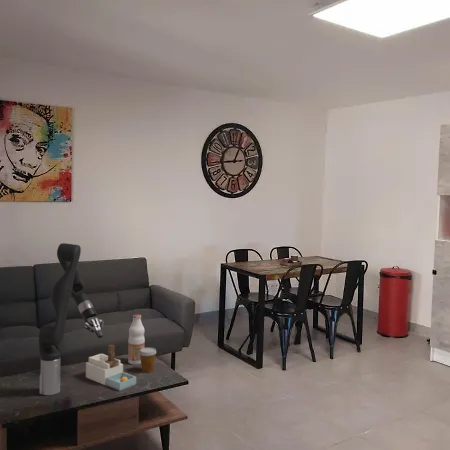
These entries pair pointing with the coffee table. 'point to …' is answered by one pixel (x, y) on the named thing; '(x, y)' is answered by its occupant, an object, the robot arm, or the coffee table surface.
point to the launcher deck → (101, 368)
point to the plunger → (112, 356)
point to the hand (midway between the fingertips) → (101, 337)
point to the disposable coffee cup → (147, 359)
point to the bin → (116, 384)
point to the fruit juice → (136, 340)
